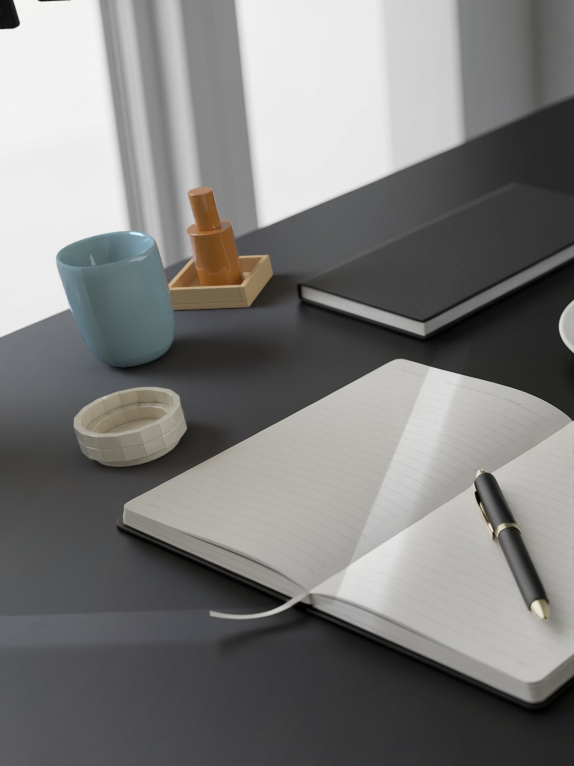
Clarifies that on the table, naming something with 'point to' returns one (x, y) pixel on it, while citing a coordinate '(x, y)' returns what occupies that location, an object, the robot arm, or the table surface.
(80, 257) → the cup
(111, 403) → the bowl
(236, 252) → the bottle
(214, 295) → the tray
